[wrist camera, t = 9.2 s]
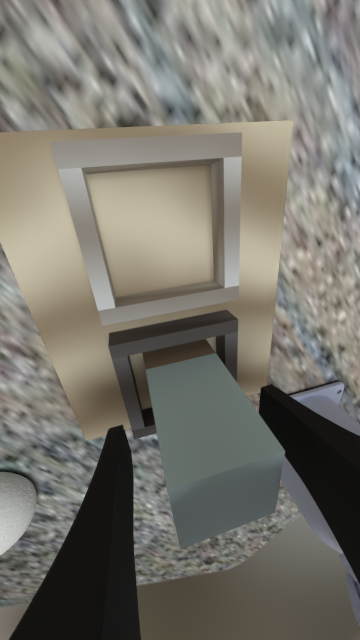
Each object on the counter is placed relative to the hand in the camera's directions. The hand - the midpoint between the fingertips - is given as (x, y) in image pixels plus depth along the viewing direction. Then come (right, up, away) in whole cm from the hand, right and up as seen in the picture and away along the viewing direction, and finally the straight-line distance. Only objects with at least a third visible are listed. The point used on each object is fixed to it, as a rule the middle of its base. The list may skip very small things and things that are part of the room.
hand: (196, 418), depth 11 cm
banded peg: (-1, +2, +4) cm, 4 cm away
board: (-2, +6, +3) cm, 7 cm away
